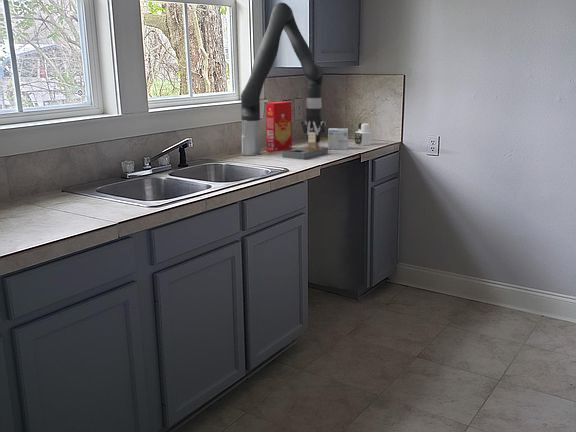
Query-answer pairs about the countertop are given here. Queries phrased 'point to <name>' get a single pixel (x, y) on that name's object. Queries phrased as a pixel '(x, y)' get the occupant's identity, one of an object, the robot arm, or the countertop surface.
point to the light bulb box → (338, 138)
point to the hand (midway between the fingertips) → (313, 142)
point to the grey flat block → (305, 152)
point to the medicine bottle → (363, 135)
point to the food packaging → (278, 126)
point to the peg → (312, 140)
